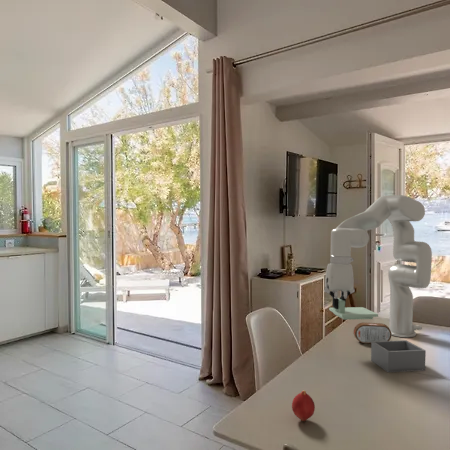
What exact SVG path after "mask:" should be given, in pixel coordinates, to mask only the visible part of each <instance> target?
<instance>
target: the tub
mask: <svg viewBox="0 0 450 450" xmlns="http://www.w3.org/2000/svg"><path fill="white" fill-rule="evenodd" d="M370 346H371V347H370V348H371V350H370V352H371V354H370V361H371V362H373V363H374V364H375V365H376V366H379V368H381V369H383V371H385V372H387V373H397V372H398V373H400V372H420V371H426V355H427V354H426V349H424V348H422V347H420V346H418V345H417V344H415V343H412V342H410V341H408V340H404V339H403V340H390V341H375V342H371V344H370Z"/></svg>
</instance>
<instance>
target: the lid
mask: <svg viewBox="0 0 450 450" xmlns="http://www.w3.org/2000/svg"><path fill="white" fill-rule="evenodd" d="M337 299H339V300H338V309H335V308H333V307H329V308H328V309H329V311H330V312H331V313H333V314H334V315H335V316H336V317H339V318H340V319H342V320H347V321H348V320H373V319H374V317H375V318H377V317H379V313H376V312H374V311H372V310H370V309H368V308H366V307H362V306H360V307H359V306H358V307H357V306H355V307H353V306H352V307H348V306H347V307H346V305H345V301H344V300H341V299H340V297H337Z"/></svg>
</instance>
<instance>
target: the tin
mask: <svg viewBox="0 0 450 450" xmlns="http://www.w3.org/2000/svg"><path fill="white" fill-rule="evenodd" d="M353 335H354V338H355V340H357V341H358V342H360V343H362V344H370V345H371V342H375V341H391V339H392V335H391V331H390V329H389V325H387V324H385V323H380V322H379V323H378V322H360V323H358V324H356V325H355V327H354V328H353Z"/></svg>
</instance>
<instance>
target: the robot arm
mask: <svg viewBox="0 0 450 450" xmlns="http://www.w3.org/2000/svg"><path fill="white" fill-rule="evenodd" d="M425 214H426V209H425V206H424V204H423V203H422V202H421V201H419V200H416V199H414V198H412V197H410V196H406V195H401V194H395V195H382V196H379V197H378V198H377V199H376V200H375V201H374V202H373V203H372V204H371V205H370V206H368V208H366V209H365V211H363V212H360V213H357V214H356V215H353V216H351V217H349V218H346V219H345V220H344V221H342V222H341V223H340V224H338V226H336V228H333V229H331V231H330V252H329V253H330V255H329V256H330V258H329V263H327V267H326V271H325V278H324V279H325V280H324V289H323V292H324V293H327V294H328V295H330V296H331V298H332V308H335V309H338V300H339V299H341V300H344V301H345V306H346V302H347V301H346V300H347V298H348V297H349V296H350V295H351V294H353V293H355V287H354V284H355V280H354V276H355V275H354V268H353V265H352V264H351V263H352V262H354V260H355V259H354V258H353V257H352V255H351V254H352V248H357V249H360V248H363V247H366V246H367V245H368V244H369V241H370V236H369V233H368V232H367V231H370V230H375V229H378V228H379V227H381V226H382V224H383V223H384V222H385V221H386V220H388V221H389V223H390V224H391V226H392V229H393V243H392V244H393V245H392V247H393V248H392V254H393V258H394V260H397V261H398V262H405V263H413V264H414V263H415V265H411V264H405V263H404V264H402V263H396V264H393V265H391V266H390V267H389V269H388V273H387V274H388V275H387V276H388V282H389V294H390V295H389V325H388V328H389V329H390V331H391V336H393V337H399V338H414V337H415V336H417V332H416V331H417V330H418V331H420V330H421V331H422V330H423V326H422V325H420V324H419V325H417V324H413V317H414V316H413V311H414V307H413V306H414V305H413V304H414V295H413V292H412V290H411V289H410V288H415V289H426V288H428V286H429V285H430V284H431V283H430V282H431V278H432V277H431V276H432V264H433V263H432V261H433V260H432V259H433V257H432V256H433V252H432V248H431V245H430V244H429V243H427V242H425V241H420V240H419V241H417V240H416V241H415V228H414V226H413V224H412V223H411V222H420V221H421V220H423V219H424V217H425ZM339 291H340V296H339V299H337V298H338V292H339Z"/></svg>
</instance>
